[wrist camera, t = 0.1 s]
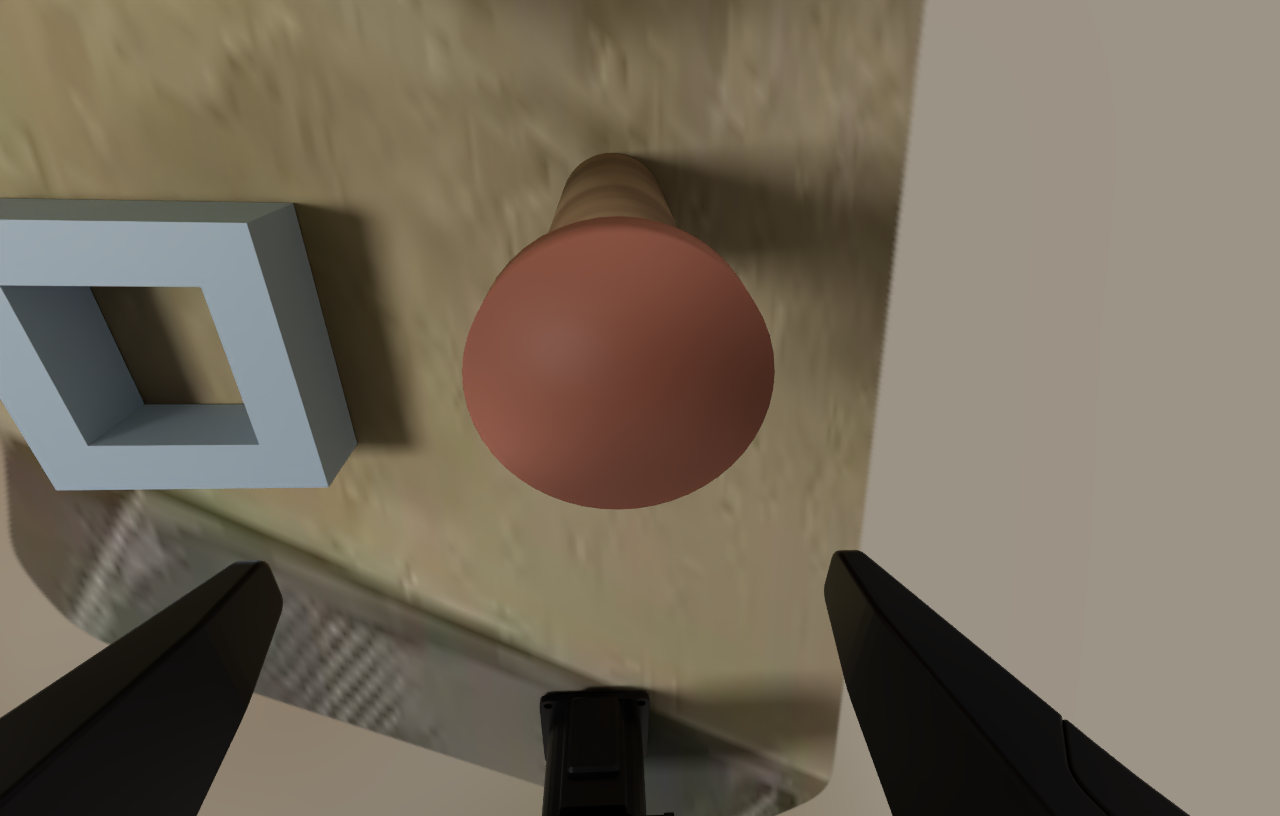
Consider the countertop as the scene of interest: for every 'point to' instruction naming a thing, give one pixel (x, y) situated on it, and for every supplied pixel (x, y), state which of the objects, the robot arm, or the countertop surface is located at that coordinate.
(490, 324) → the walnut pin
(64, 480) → the hole block
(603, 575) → the countertop surface
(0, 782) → the robot arm
